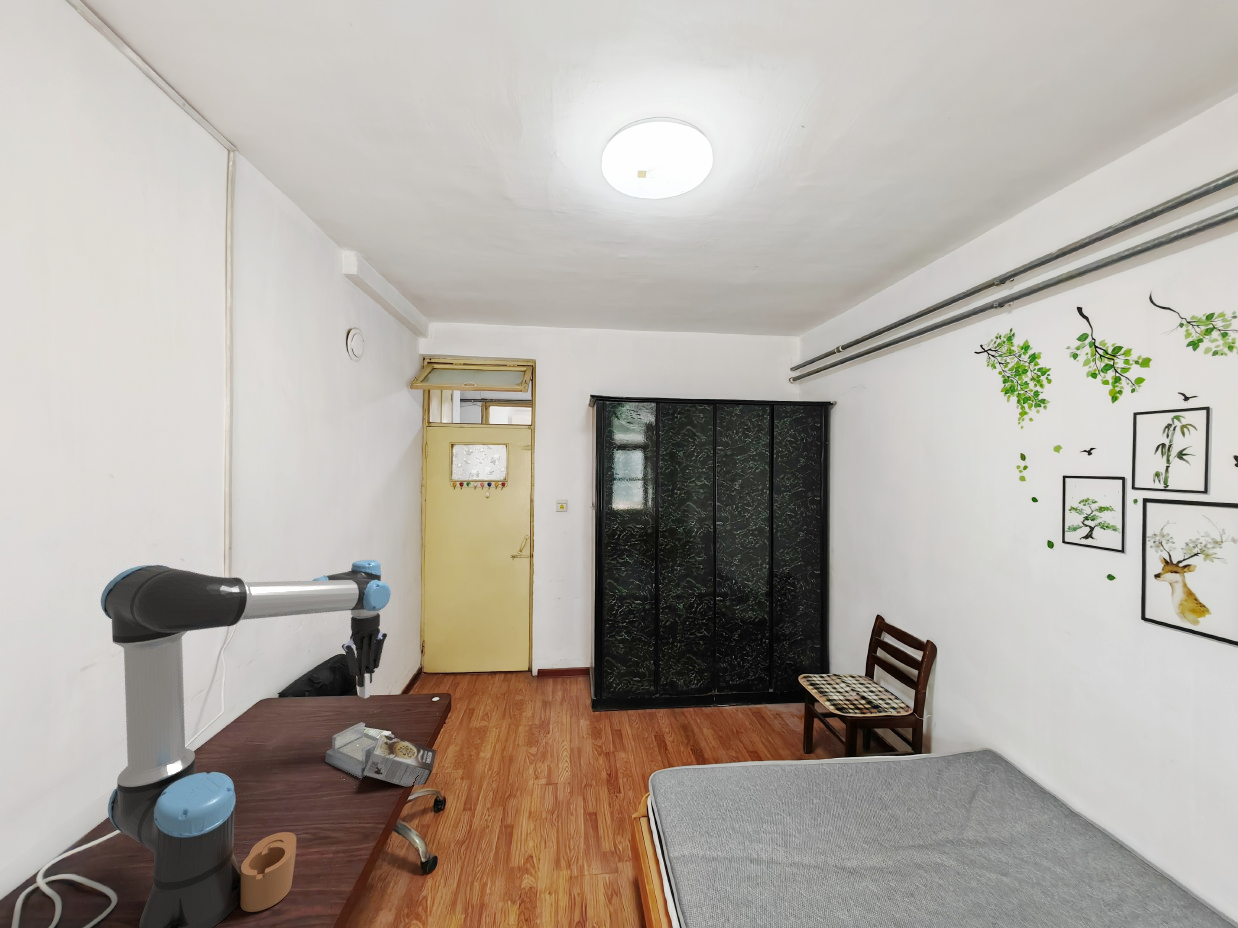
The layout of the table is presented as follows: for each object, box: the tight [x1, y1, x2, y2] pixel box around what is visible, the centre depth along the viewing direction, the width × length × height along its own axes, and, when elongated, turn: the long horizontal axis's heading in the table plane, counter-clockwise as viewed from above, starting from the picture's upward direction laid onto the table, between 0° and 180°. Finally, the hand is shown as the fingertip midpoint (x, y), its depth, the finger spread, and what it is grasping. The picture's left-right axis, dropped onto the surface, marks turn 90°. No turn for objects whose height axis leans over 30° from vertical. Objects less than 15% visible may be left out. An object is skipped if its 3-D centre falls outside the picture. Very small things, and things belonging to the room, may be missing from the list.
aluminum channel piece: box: [325, 721, 395, 779], centre depth 144 cm, size 12×16×7 cm
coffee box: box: [363, 733, 437, 787], centre depth 136 cm, size 9×6×16 cm
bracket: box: [239, 831, 297, 913], centre depth 103 cm, size 18×8×7 cm, turn 28°
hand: (364, 696), depth 144 cm, fingers closed
